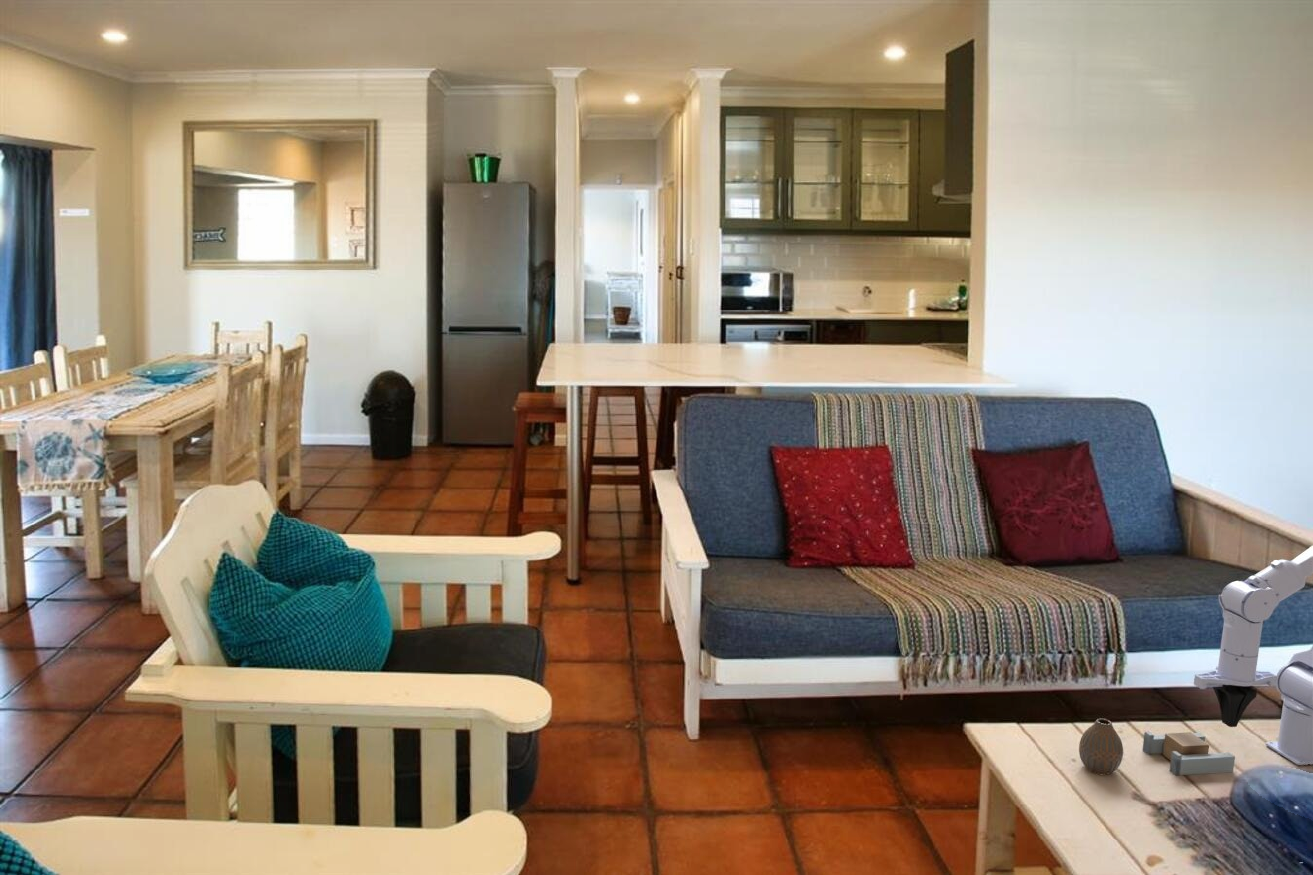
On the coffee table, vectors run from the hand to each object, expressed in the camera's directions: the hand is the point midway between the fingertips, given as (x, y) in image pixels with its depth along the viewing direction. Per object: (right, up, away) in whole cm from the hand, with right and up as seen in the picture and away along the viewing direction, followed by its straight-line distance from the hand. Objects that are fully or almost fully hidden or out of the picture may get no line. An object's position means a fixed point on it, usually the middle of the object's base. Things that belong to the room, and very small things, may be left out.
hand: (1229, 724), depth 178 cm
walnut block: (-8, -6, 0) cm, 10 cm away
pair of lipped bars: (-7, -6, 0) cm, 10 cm away
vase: (-25, -7, -4) cm, 26 cm away
